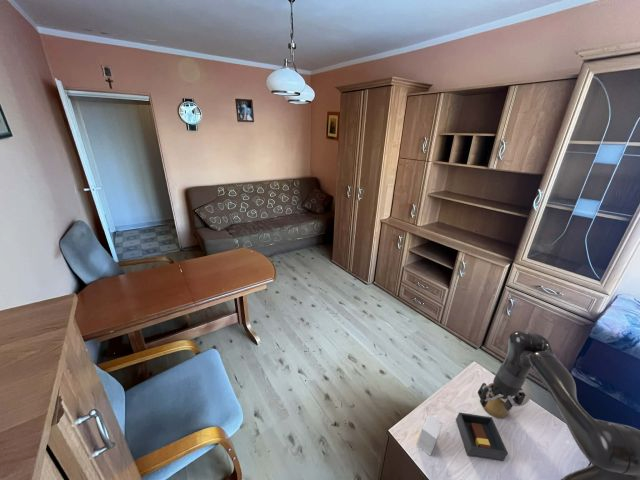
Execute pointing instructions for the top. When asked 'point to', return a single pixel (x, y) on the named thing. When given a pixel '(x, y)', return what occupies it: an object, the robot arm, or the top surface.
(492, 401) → the lamp
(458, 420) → the dark gray rectangular tray
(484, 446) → the chocolate bar
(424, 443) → the small box
